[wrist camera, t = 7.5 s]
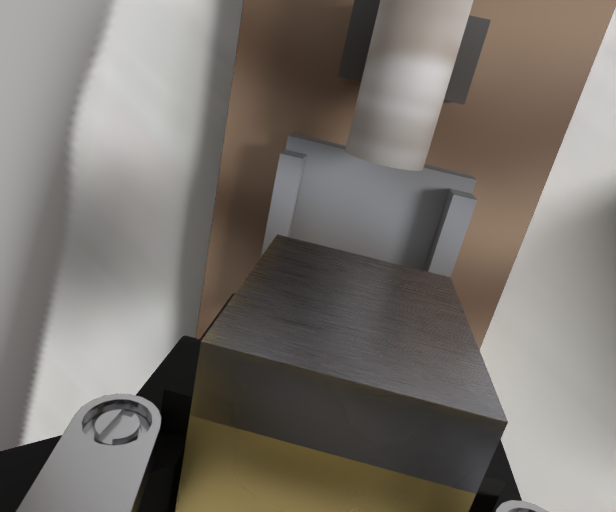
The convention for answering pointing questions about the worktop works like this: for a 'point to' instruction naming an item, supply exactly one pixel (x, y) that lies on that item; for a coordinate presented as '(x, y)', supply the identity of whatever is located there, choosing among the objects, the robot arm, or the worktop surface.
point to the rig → (397, 134)
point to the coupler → (339, 392)
